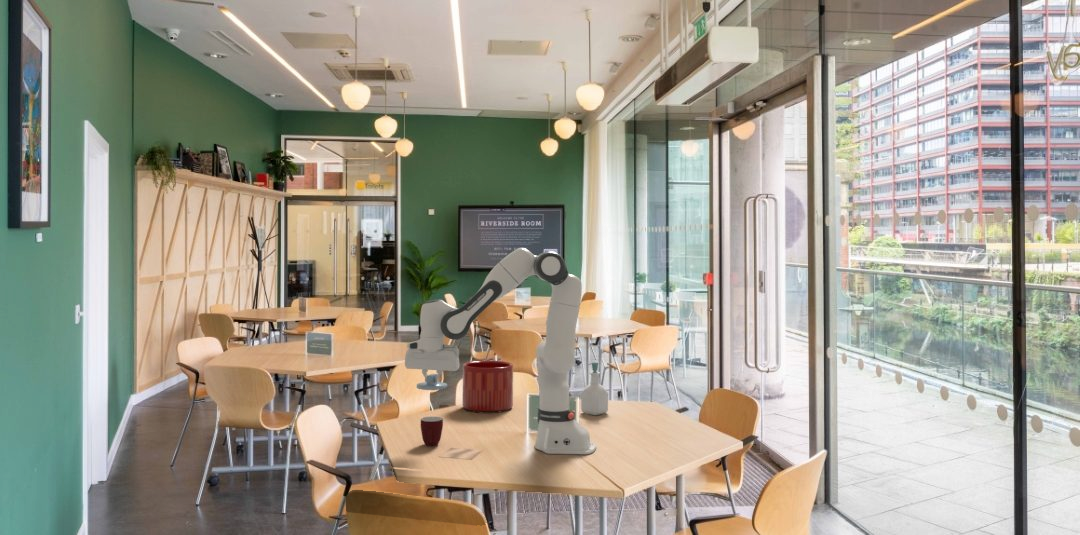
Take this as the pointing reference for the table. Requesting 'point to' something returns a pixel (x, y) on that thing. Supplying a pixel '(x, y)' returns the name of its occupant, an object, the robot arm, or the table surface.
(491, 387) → the planter
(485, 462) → the table surface
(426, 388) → the lid
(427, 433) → the mug
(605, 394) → the soap bottle
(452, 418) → the table surface
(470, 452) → the mat
